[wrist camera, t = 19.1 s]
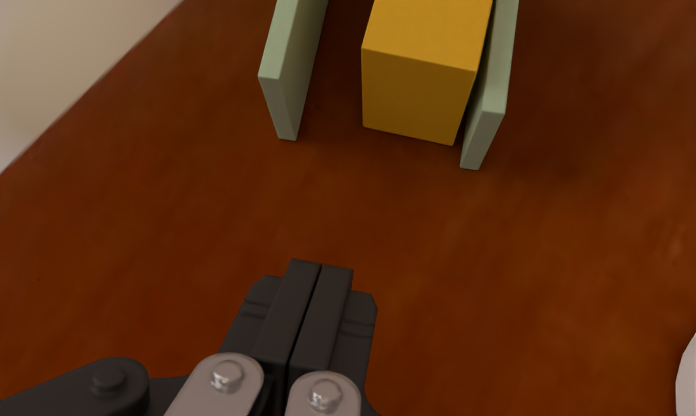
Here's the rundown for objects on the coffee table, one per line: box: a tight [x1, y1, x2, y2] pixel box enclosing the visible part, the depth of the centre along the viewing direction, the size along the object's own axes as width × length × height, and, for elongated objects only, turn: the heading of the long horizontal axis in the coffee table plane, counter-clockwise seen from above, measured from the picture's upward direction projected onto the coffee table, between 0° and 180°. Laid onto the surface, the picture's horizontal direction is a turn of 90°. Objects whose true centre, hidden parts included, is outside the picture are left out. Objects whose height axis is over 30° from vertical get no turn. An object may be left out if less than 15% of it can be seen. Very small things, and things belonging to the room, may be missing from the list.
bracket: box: [258, 0, 519, 170], centre depth 28 cm, size 11×10×7 cm
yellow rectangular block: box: [361, 0, 493, 146], centre depth 27 cm, size 7×5×7 cm, turn 166°
